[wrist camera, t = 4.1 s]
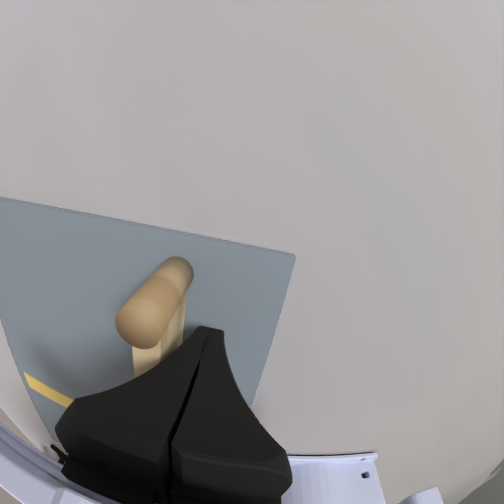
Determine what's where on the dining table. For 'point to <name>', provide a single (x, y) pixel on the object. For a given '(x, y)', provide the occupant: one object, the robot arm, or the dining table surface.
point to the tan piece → (156, 314)
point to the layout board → (121, 298)
